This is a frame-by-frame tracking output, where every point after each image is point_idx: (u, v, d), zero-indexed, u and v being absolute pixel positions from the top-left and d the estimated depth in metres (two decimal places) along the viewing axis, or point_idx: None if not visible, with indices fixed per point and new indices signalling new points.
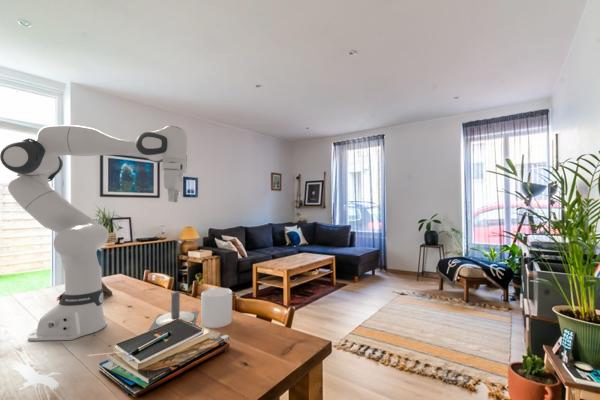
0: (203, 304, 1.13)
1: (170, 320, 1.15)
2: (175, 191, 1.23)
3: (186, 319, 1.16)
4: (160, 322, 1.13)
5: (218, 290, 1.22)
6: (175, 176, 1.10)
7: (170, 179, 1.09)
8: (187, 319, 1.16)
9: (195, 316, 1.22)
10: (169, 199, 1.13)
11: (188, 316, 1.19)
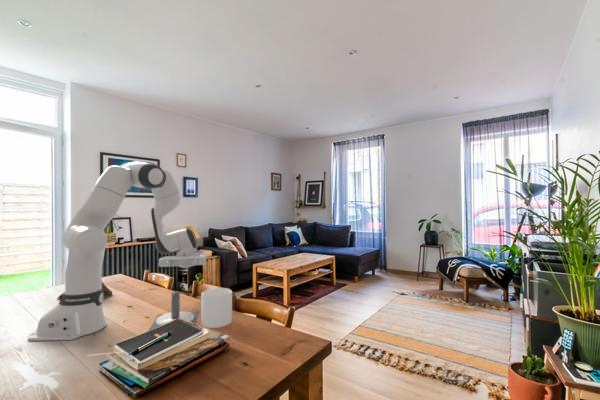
0: (203, 304, 1.13)
1: (170, 320, 1.15)
2: None
3: (186, 319, 1.16)
4: (160, 322, 1.13)
5: (218, 290, 1.22)
6: None
7: None
8: (187, 319, 1.16)
9: (195, 316, 1.22)
10: (194, 262, 1.32)
11: (188, 316, 1.19)
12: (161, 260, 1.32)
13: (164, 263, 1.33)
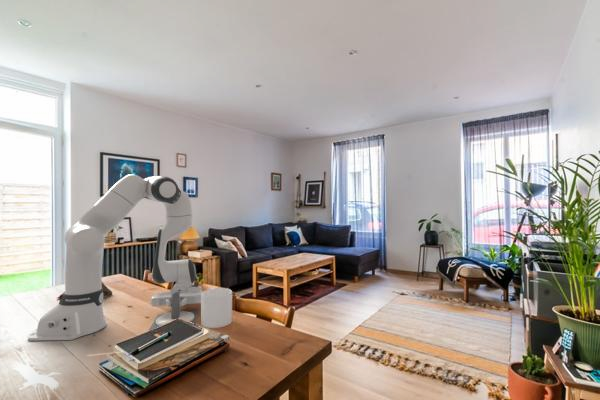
0: (203, 304, 1.13)
1: (170, 320, 1.15)
2: (170, 301, 1.21)
3: (186, 319, 1.16)
4: (160, 322, 1.13)
5: (218, 290, 1.22)
6: None
7: None
8: (187, 319, 1.16)
9: (195, 316, 1.22)
10: (183, 302, 1.19)
11: (188, 316, 1.19)
12: (153, 299, 1.20)
13: (157, 302, 1.20)
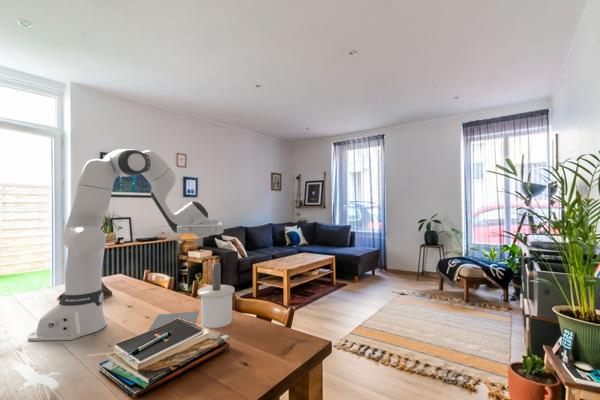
0: (203, 304, 1.13)
1: (212, 291, 1.14)
2: None
3: (228, 290, 1.15)
4: (202, 293, 1.12)
5: None
6: None
7: None
8: (229, 290, 1.15)
9: (195, 316, 1.22)
10: (212, 228, 1.31)
11: (228, 288, 1.18)
12: (179, 227, 1.31)
13: (182, 230, 1.32)
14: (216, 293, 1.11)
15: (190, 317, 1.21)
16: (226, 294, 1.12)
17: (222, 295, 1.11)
